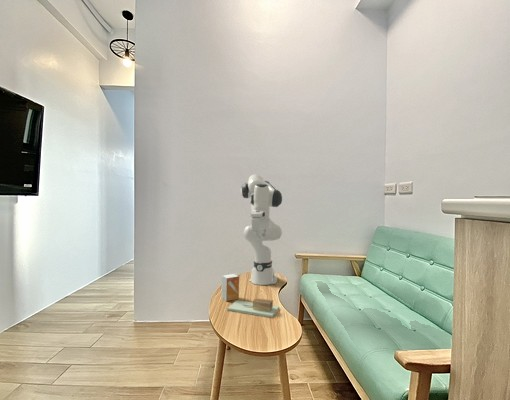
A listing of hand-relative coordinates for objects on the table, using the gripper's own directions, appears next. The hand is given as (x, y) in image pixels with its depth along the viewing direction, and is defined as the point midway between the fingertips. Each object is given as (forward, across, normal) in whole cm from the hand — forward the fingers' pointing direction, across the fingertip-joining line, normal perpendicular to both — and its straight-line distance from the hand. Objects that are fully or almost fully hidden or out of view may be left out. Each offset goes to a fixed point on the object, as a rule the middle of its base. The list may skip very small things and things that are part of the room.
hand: (261, 237), depth 164 cm
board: (+35, +14, +1) cm, 38 cm away
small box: (+35, +4, -17) cm, 39 cm away
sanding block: (+34, +14, +6) cm, 37 cm away
